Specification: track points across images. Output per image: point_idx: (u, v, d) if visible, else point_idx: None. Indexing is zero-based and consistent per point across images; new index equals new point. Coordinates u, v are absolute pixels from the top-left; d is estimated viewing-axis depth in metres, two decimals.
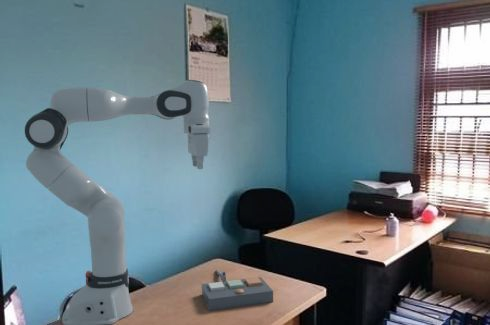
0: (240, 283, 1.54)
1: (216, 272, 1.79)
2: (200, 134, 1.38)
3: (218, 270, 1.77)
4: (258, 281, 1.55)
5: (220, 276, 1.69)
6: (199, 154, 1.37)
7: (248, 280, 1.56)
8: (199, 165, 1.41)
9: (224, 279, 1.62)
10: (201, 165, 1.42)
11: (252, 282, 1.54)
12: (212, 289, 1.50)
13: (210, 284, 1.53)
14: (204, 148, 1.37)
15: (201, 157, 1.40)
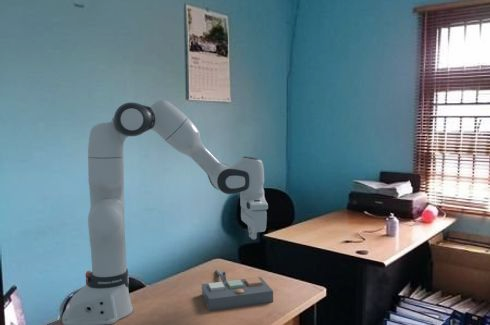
0: (240, 283, 1.54)
1: (216, 272, 1.80)
2: (258, 211, 1.46)
3: (218, 270, 1.77)
4: (258, 281, 1.55)
5: (220, 276, 1.69)
6: (258, 230, 1.45)
7: (248, 280, 1.56)
8: (253, 235, 1.53)
9: (224, 279, 1.62)
10: (255, 235, 1.53)
11: (252, 282, 1.54)
12: (212, 289, 1.50)
13: (210, 284, 1.53)
14: (263, 225, 1.45)
15: None
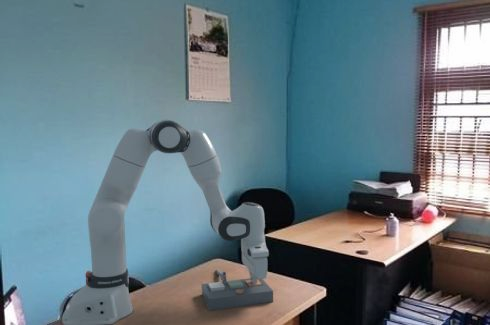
0: (240, 283, 1.54)
1: (216, 272, 1.80)
2: (259, 258, 1.47)
3: (218, 270, 1.77)
4: (258, 283, 1.55)
5: (220, 276, 1.69)
6: (259, 278, 1.46)
7: (248, 282, 1.56)
8: (254, 280, 1.55)
9: (224, 279, 1.62)
10: (255, 280, 1.55)
11: (252, 284, 1.54)
12: (212, 289, 1.50)
13: (210, 284, 1.53)
14: (263, 272, 1.46)
15: None
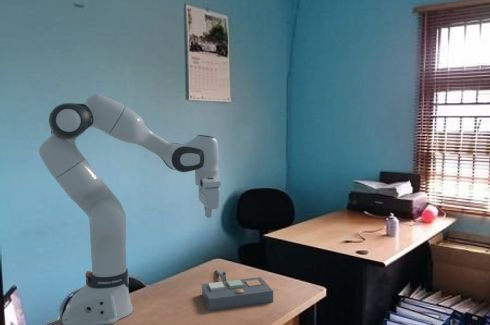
0: (240, 283, 1.54)
1: (216, 272, 1.80)
2: (211, 188, 1.45)
3: (218, 270, 1.77)
4: (258, 283, 1.55)
5: (220, 276, 1.69)
6: (210, 207, 1.44)
7: (248, 282, 1.56)
8: (208, 214, 1.53)
9: (224, 279, 1.62)
10: (210, 214, 1.53)
11: (252, 285, 1.54)
12: (212, 289, 1.50)
13: (210, 284, 1.53)
14: (215, 202, 1.45)
15: None
